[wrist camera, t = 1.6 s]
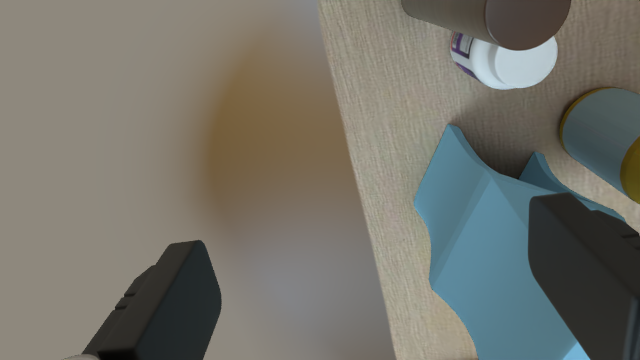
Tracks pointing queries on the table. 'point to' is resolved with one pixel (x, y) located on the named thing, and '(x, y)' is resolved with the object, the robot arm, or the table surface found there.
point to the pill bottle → (502, 62)
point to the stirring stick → (495, 19)
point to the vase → (492, 252)
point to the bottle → (606, 136)
